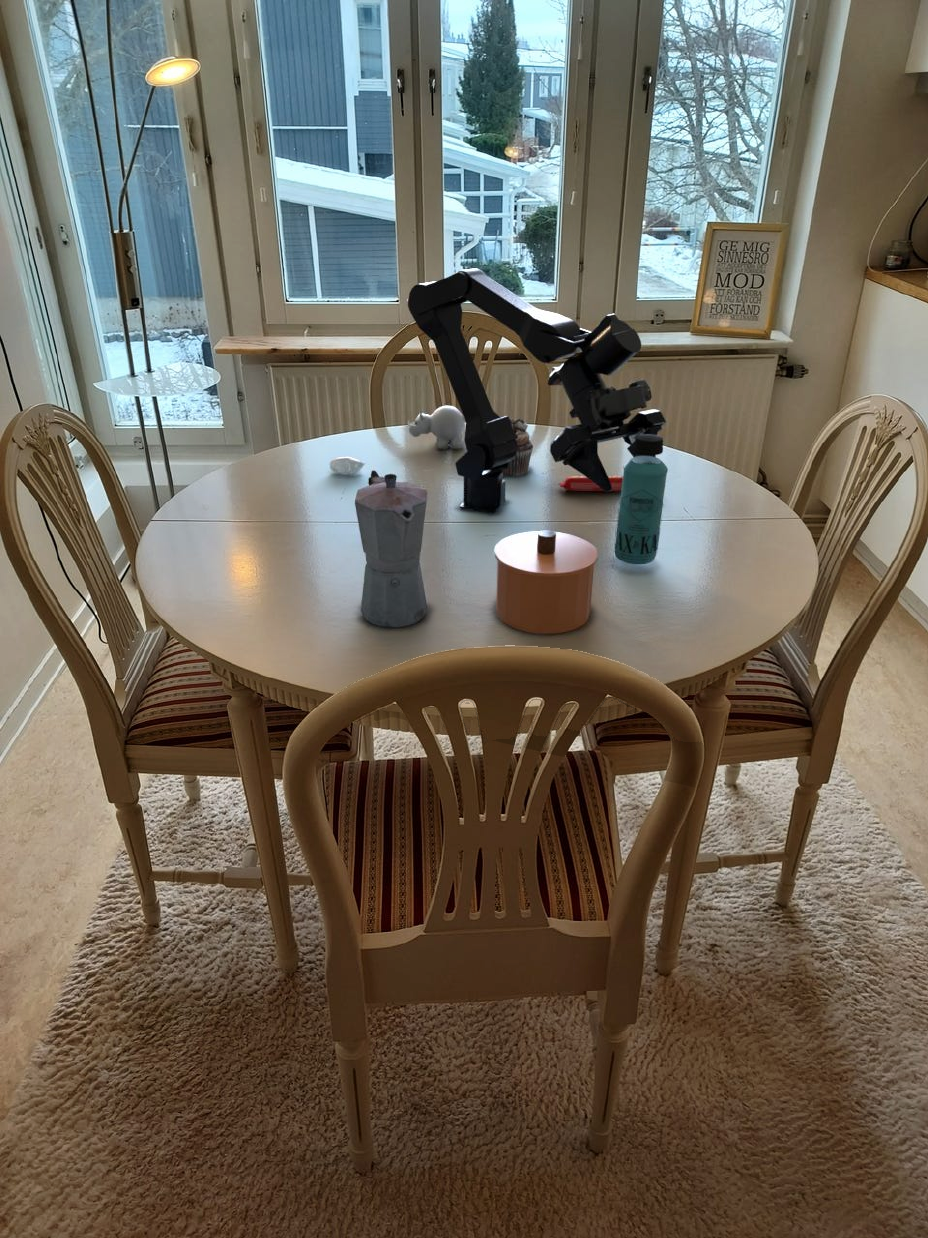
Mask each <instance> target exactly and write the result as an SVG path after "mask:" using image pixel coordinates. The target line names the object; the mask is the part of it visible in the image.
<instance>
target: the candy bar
mask: <svg viewBox="0 0 928 1238" xmlns="http://www.w3.org/2000/svg"><path fill="white" fill-rule="evenodd" d="M607 476H608V478H609V480H610V483H611V486H612V490H610V491H609V492H621V490H622V481H623V475H607ZM558 486H559V487H560V488H562V489H563V490H567V491H572V492H605V491H604V490H603V489H602V488H600V487H599V486H598V485H596V484H595V483H594V482H592V481H591V480H590V479H589V478H587V477H586V476H585V475H571V476H567V477H565V478H564V479H563V481H562V482H559V483H558Z"/></svg>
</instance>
